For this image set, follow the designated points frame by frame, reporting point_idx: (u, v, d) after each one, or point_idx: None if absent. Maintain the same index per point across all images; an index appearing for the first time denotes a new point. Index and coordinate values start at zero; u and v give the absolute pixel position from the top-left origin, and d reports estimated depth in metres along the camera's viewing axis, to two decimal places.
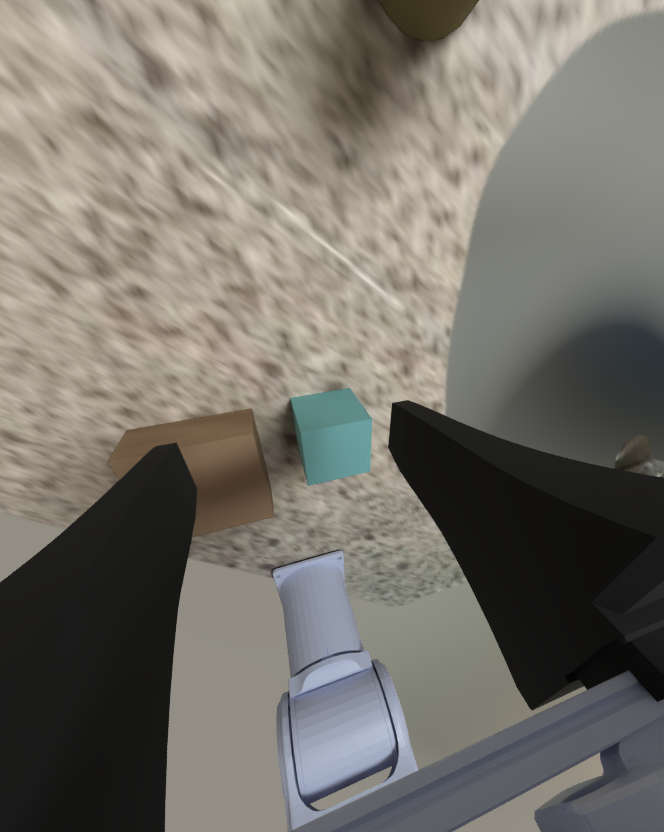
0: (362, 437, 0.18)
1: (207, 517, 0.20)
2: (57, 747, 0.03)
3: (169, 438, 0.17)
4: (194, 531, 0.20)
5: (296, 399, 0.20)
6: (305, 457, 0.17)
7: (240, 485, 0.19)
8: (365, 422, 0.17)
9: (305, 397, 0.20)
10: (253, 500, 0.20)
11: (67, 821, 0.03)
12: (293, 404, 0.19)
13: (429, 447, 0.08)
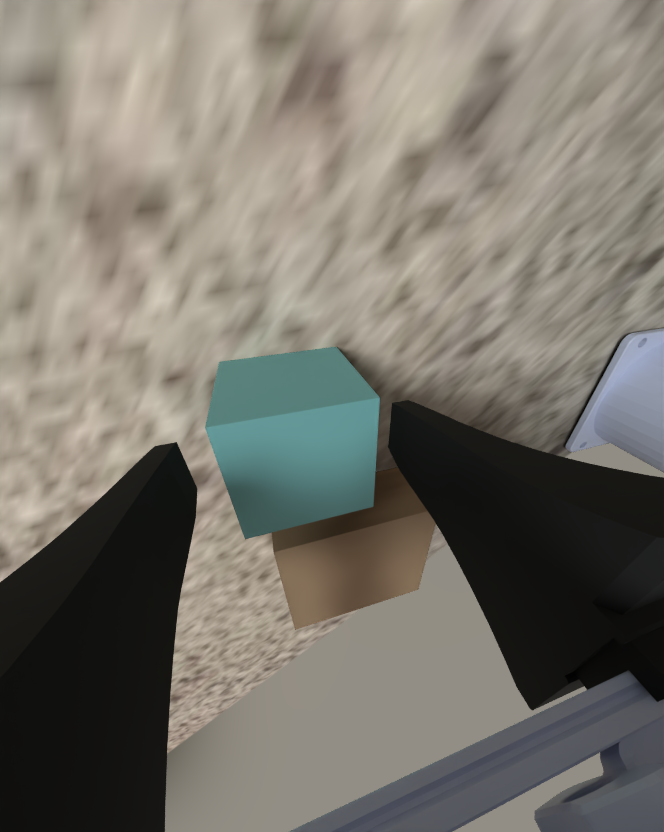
0: (265, 437, 0.07)
1: (398, 567, 0.16)
2: (57, 747, 0.03)
3: None
4: (414, 572, 0.16)
5: None
6: (303, 522, 0.09)
7: (360, 549, 0.14)
8: (218, 439, 0.07)
9: None
10: (394, 534, 0.14)
11: (67, 821, 0.03)
12: None
13: (429, 447, 0.08)
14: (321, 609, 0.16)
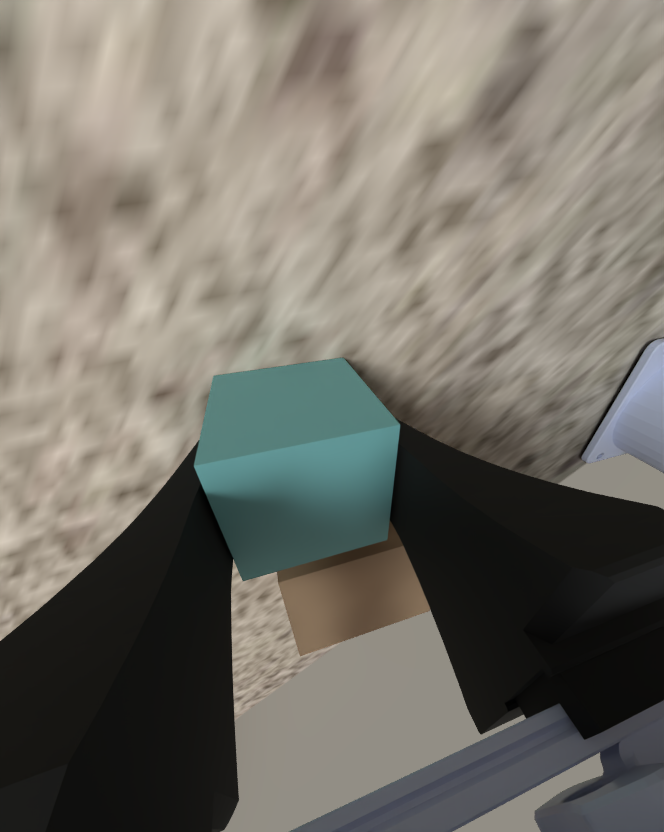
0: (266, 473, 0.06)
1: (409, 590, 0.15)
2: (172, 706, 0.04)
3: None
4: None
5: None
6: (309, 560, 0.08)
7: (371, 575, 0.13)
8: (210, 477, 0.06)
9: None
10: (406, 558, 0.13)
11: (183, 774, 0.03)
12: None
13: None
14: (328, 635, 0.15)
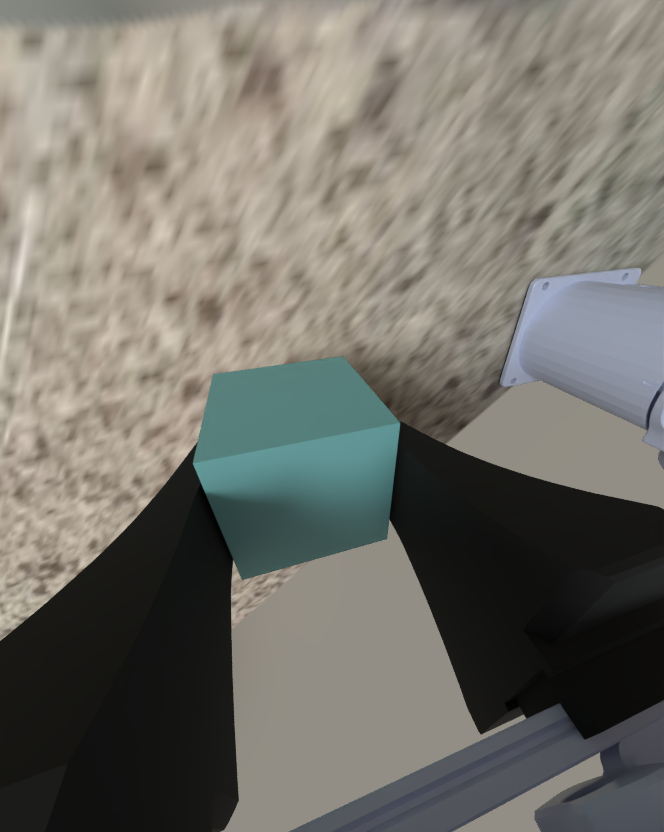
0: (265, 471, 0.06)
1: None
2: (172, 706, 0.04)
3: None
4: None
5: None
6: (308, 559, 0.08)
7: None
8: (209, 475, 0.06)
9: None
10: None
11: (183, 774, 0.03)
12: None
13: None
14: None
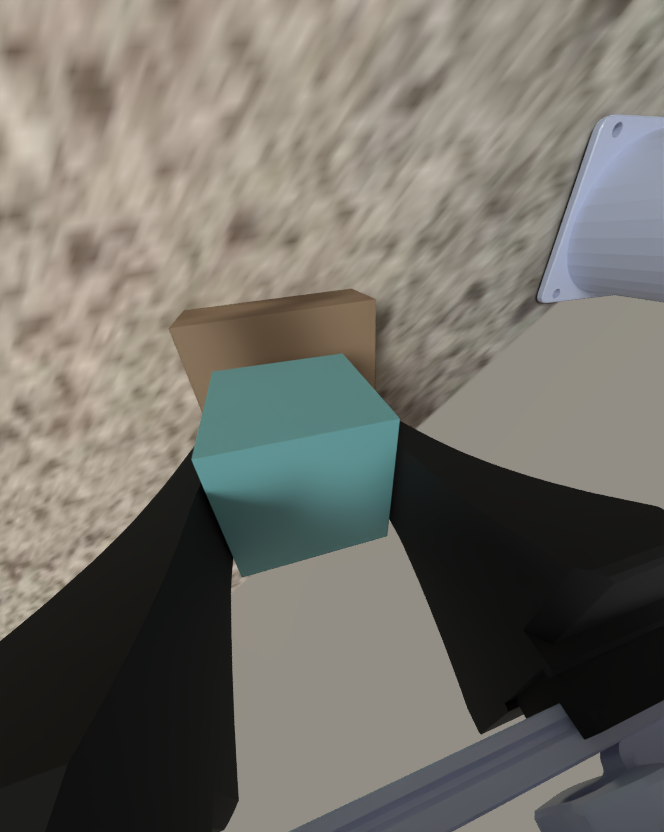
0: (264, 467, 0.06)
1: None
2: (172, 706, 0.04)
3: None
4: None
5: None
6: (308, 556, 0.08)
7: (286, 354, 0.12)
8: (208, 471, 0.06)
9: None
10: (324, 335, 0.12)
11: (183, 774, 0.03)
12: None
13: None
14: None
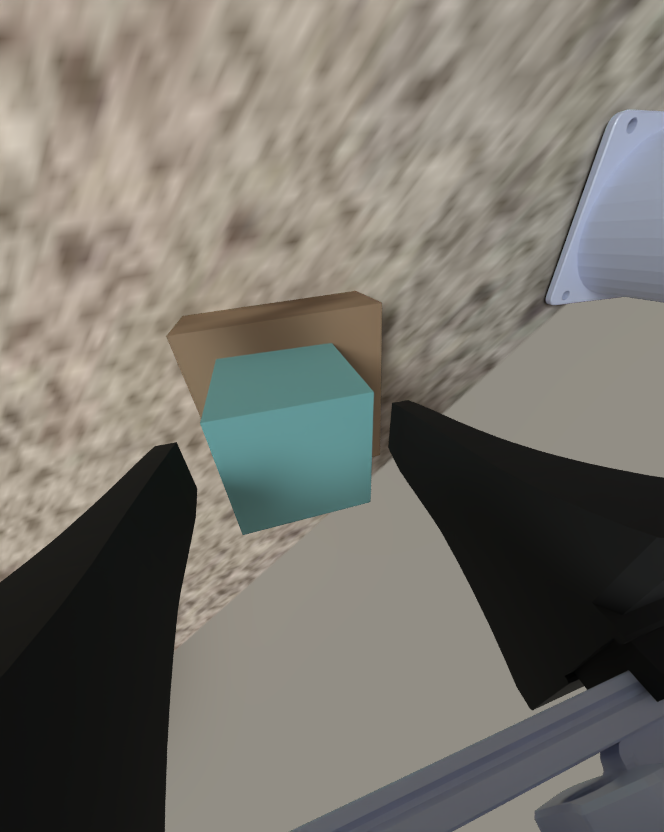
0: (260, 432, 0.07)
1: None
2: (57, 747, 0.03)
3: None
4: None
5: None
6: (301, 518, 0.09)
7: None
8: (213, 434, 0.07)
9: None
10: (329, 341, 0.11)
11: (67, 821, 0.03)
12: None
13: (429, 447, 0.08)
14: None
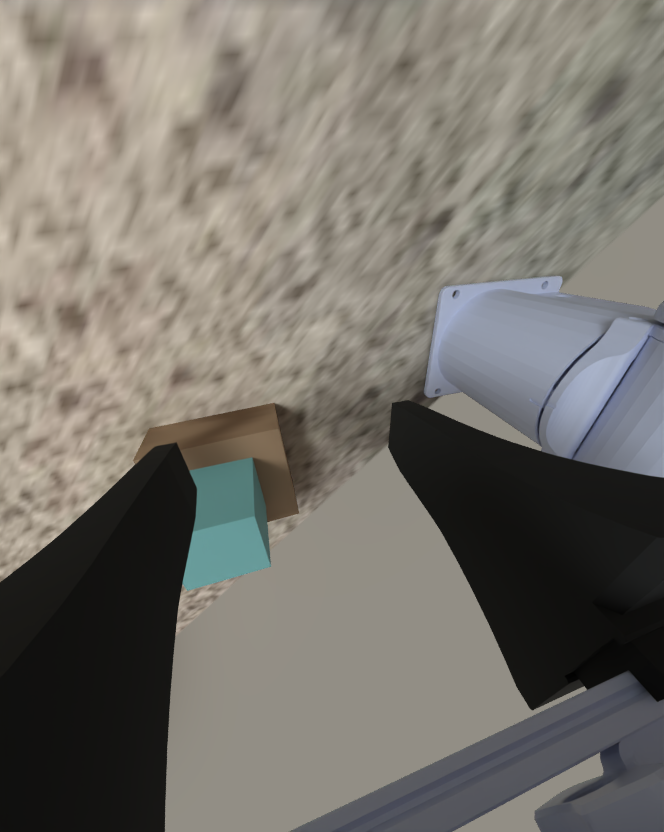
0: None
1: (265, 487, 0.19)
2: (57, 747, 0.03)
3: None
4: (285, 494, 0.19)
5: None
6: (224, 579, 0.15)
7: None
8: None
9: None
10: (244, 451, 0.17)
11: (67, 821, 0.03)
12: None
13: (429, 447, 0.08)
14: None
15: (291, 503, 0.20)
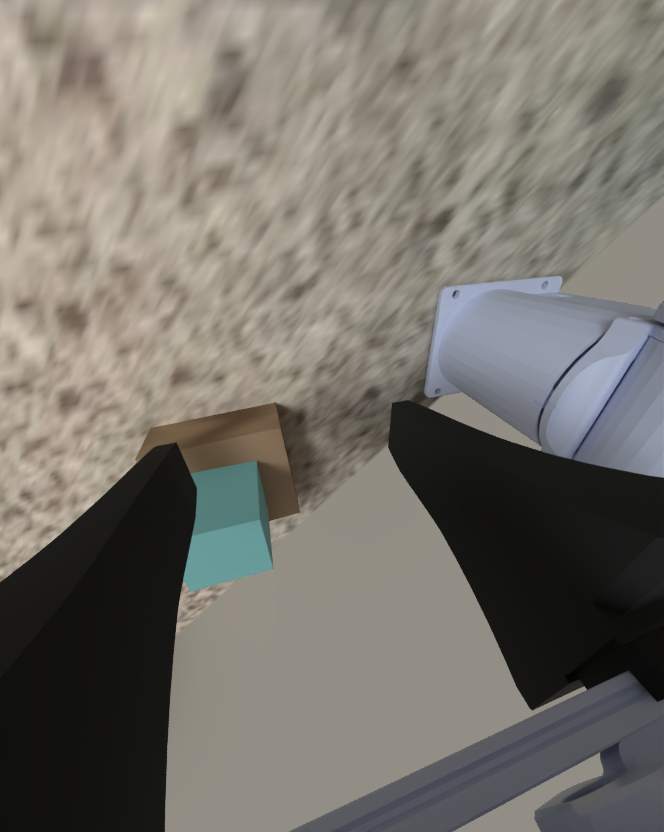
0: (195, 543, 0.13)
1: (267, 486, 0.19)
2: (57, 747, 0.03)
3: None
4: (287, 493, 0.20)
5: None
6: (227, 580, 0.16)
7: (219, 464, 0.17)
8: None
9: None
10: (246, 451, 0.17)
11: (67, 821, 0.03)
12: None
13: (429, 447, 0.08)
14: None
15: (292, 502, 0.20)
